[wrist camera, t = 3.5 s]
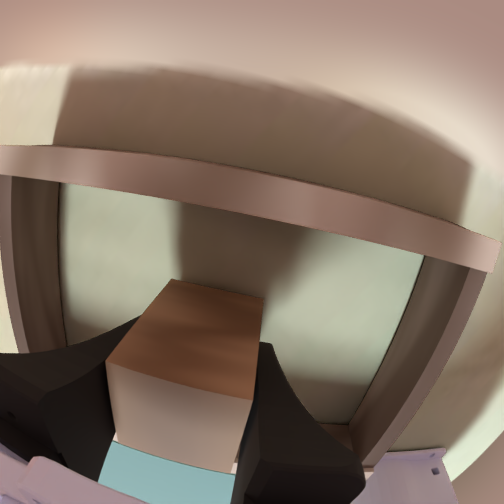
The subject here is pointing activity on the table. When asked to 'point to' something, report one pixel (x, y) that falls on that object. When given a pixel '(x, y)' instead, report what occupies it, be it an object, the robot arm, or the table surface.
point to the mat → (163, 478)
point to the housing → (261, 205)
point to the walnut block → (187, 375)
